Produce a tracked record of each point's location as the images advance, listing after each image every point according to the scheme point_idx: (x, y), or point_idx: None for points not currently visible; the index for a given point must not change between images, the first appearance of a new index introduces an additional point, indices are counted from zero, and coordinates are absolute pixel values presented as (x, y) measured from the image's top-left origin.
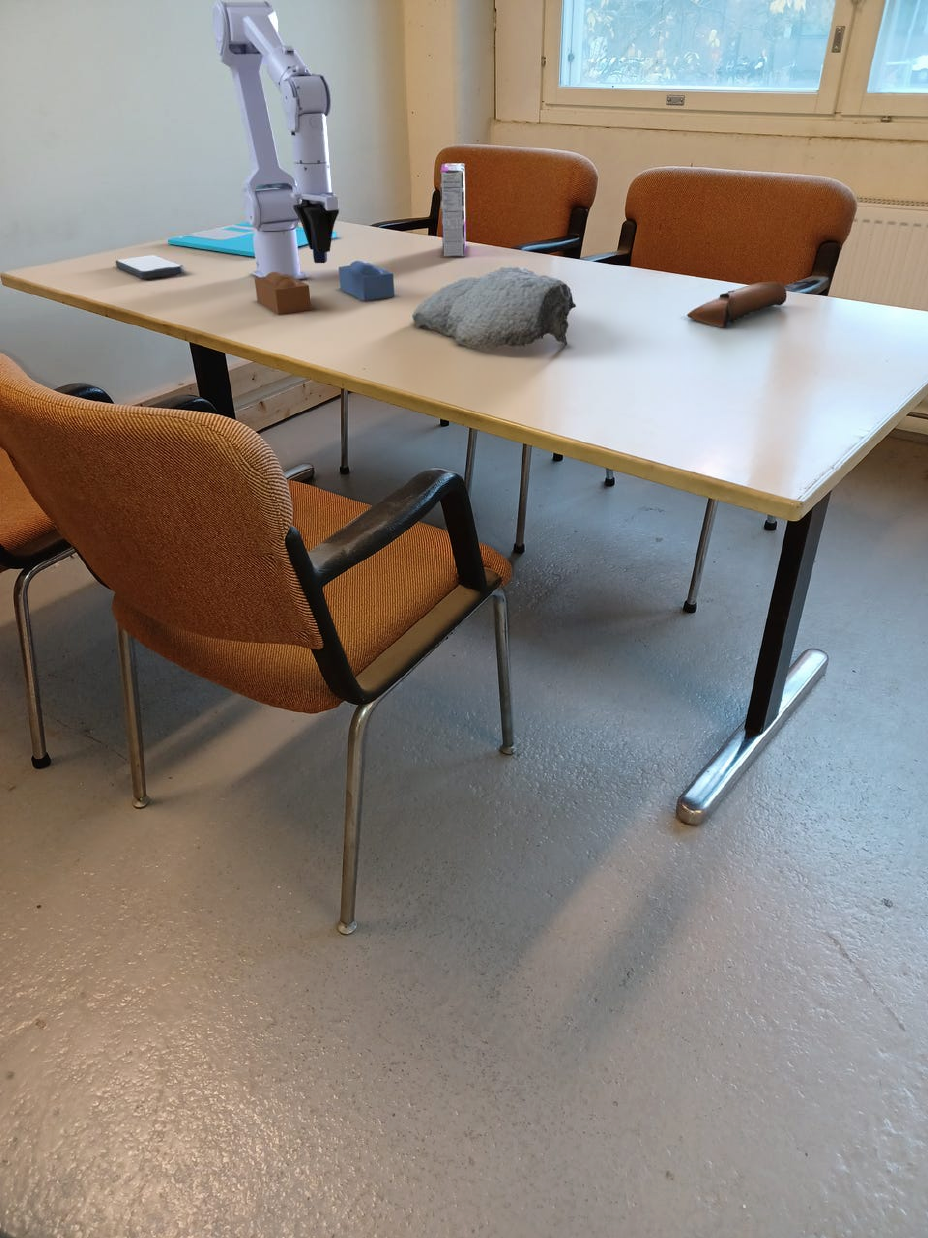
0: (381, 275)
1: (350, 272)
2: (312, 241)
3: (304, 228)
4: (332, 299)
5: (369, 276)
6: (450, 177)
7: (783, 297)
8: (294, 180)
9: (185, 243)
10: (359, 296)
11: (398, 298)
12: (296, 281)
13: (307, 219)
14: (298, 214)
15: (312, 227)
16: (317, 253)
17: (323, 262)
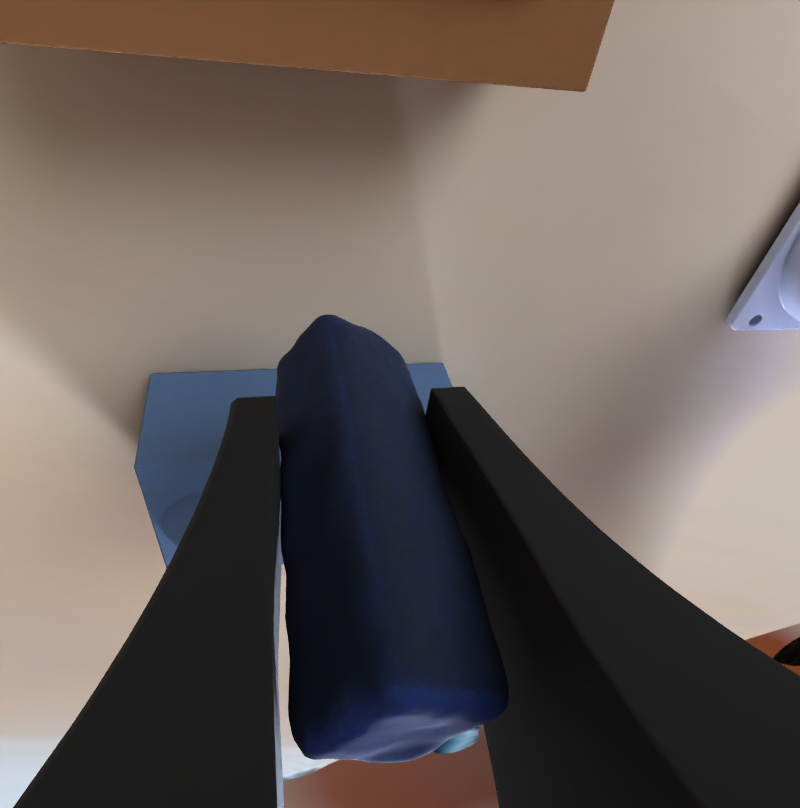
0: (158, 537)
1: None
2: (351, 450)
3: (554, 527)
4: (282, 257)
5: (146, 496)
6: None
7: None
8: None
9: None
10: (207, 378)
11: (139, 489)
12: (240, 6)
13: (553, 669)
14: (724, 686)
15: (213, 626)
16: (309, 388)
17: (277, 367)
